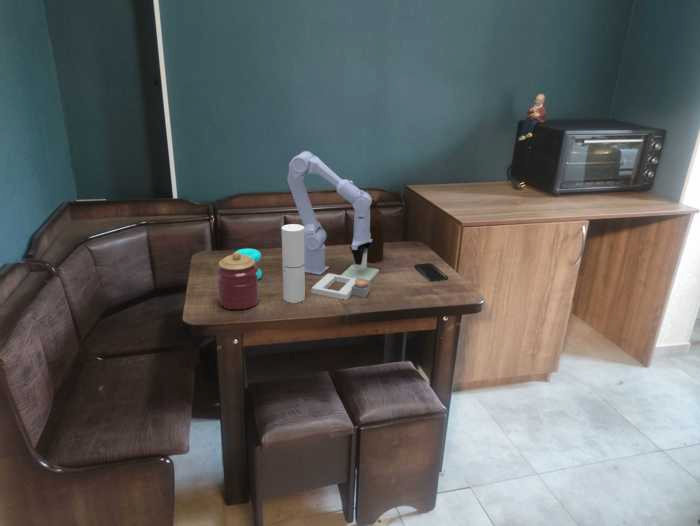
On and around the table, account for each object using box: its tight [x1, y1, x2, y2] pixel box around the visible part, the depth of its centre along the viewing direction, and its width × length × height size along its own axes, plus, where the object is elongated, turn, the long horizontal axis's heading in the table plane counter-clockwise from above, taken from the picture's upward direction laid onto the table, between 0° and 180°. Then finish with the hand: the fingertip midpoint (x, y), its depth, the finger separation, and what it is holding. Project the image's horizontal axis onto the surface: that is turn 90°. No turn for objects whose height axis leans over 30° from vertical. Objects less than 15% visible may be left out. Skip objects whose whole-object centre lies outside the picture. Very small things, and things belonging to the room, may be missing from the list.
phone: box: [413, 262, 449, 283], centre depth 201 cm, size 8×1×15 cm
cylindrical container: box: [281, 223, 306, 304], centre depth 173 cm, size 7×7×25 cm
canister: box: [216, 251, 260, 310], centre depth 171 cm, size 13×13×18 cm
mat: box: [340, 264, 380, 284], centre depth 197 cm, size 11×11×1 cm
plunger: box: [355, 279, 369, 288], centre depth 182 cm, size 4×4×4 cm
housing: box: [310, 272, 371, 301], centre depth 184 cm, size 18×14×3 cm
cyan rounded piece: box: [235, 248, 263, 280], centre depth 191 cm, size 10×10×10 cm
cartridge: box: [354, 247, 368, 269], centre depth 195 cm, size 5×5×7 cm
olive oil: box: [367, 196, 387, 264], centre depth 208 cm, size 11×11×25 cm
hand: (360, 261), depth 196 cm, fingers closed on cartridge, 5 cm apart
